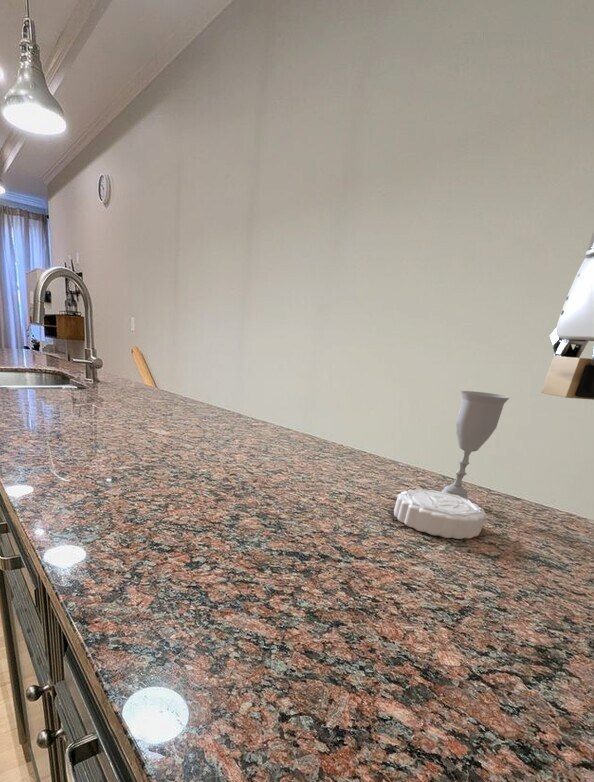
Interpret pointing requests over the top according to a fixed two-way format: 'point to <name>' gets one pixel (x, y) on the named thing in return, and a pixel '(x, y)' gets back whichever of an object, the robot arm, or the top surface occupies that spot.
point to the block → (565, 376)
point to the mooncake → (439, 513)
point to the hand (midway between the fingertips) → (572, 393)
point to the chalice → (474, 429)
